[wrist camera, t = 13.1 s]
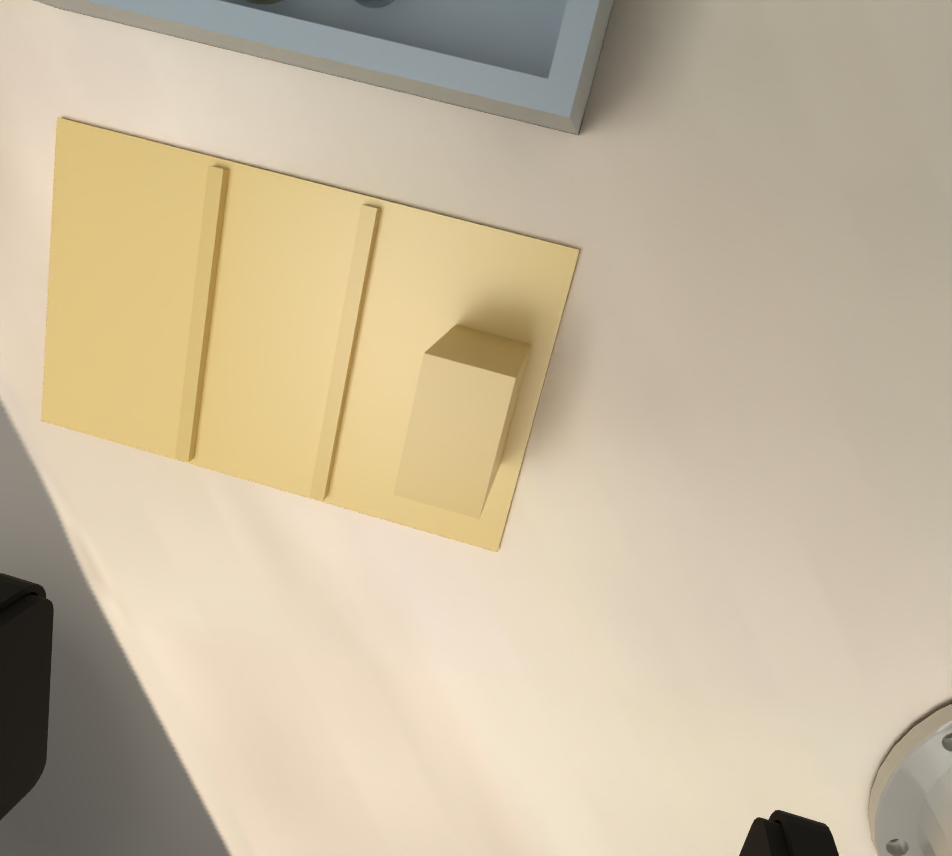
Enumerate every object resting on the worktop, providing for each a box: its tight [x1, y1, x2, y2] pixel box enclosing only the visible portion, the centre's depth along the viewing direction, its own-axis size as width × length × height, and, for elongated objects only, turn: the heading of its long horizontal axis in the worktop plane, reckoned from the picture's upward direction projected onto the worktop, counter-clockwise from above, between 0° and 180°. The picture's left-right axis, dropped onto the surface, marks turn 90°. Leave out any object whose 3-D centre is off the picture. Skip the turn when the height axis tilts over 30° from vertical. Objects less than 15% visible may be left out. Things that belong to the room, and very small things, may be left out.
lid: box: [41, 117, 580, 552], centre depth 29 cm, size 21×13×6 cm, turn 77°
